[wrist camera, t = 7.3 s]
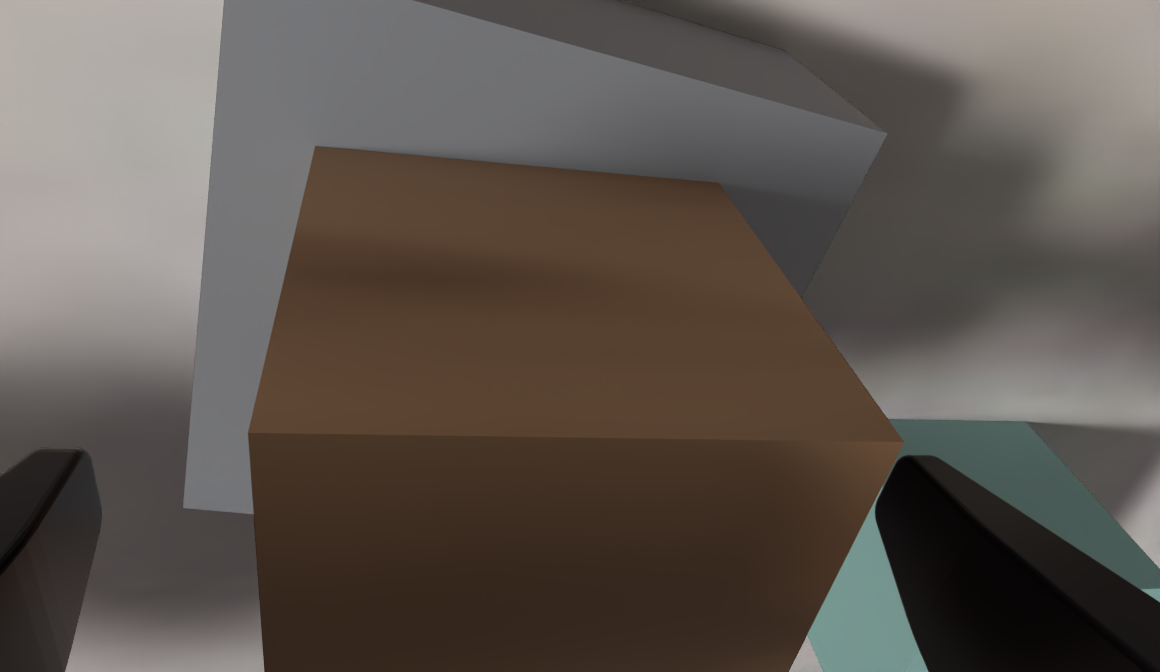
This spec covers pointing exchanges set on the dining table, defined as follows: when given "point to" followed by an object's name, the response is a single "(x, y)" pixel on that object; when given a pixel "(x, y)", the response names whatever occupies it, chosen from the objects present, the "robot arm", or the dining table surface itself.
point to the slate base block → (487, 144)
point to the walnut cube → (546, 429)
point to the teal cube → (1004, 467)
